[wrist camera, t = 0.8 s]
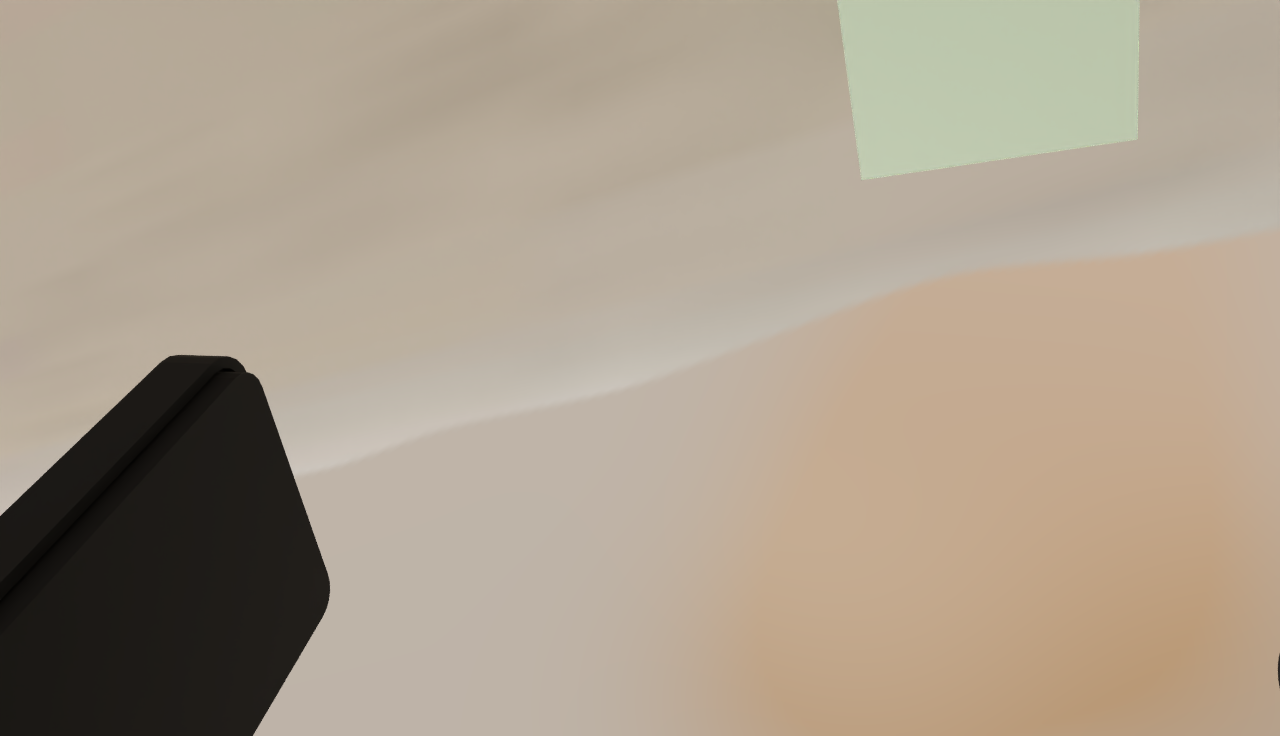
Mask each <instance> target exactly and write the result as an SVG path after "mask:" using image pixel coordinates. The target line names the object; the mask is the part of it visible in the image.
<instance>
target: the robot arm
mask: <svg viewBox="0 0 1280 736" xmlns="http://www.w3.org/2000/svg"><path fill="white" fill-rule="evenodd" d="M329 594H330V581H329V577H328V573H327V570H326V567H325V565H324V562H323V559H322V556H321V553H320V550H319V548H318V545H317V542H316V539H315V536H314V533H313V531H312V527H311V525H310V522H309V519H308V516H307V513H306V510H305V508H304V505H303V502H302V499H301V496H300V493H299V491H298V488H297V485H296V482H295V479H294V476H293V473H292V470H291V468H290V465H289V462H288V459H287V456H286V453H285V450H284V448H283V445H282V442H281V439H280V436H279V433H278V430H277V428H276V425H275V422H274V419H273V416H272V413H271V410H270V408H269V405H268V402H267V399H266V396H265V393H264V391H263V388H262V385H261V383H260V381H259V379H258V378H257V377H256V376H255V375H254V374H251V373H248V372H246V370H245V368H244V366H243V365H242V364H241V363H240V362H239V361H238V360H237V359H234V358H231V357H228V356H196V355H175V356H169V357H168V358H166V359H165V360H163V361H162V362H161V363H159V364H158V365H157V366H156V367H155V368H154V369H153V370H152V371H151V372H150V373H149V374H148V375H147V376H146V377H145V378H144V379H143V380H142V381H141V382H140V383H139V384H138V385H137V386H135V387H134V388H133V389H132V390H131V391H130V392H129V393H128V394H127V395H126V396H125V397H124V398H123V399H122V400H121V401H120V402H119V403H118V404H117V405H116V406H115V407H114V408H113V409H112V410H110V411H109V412H108V413H107V414H106V415H105V416H104V417H103V418H102V419H101V420H100V421H99V422H98V423H97V424H96V425H95V426H94V427H93V428H92V429H91V430H90V431H89V432H88V433H86V434H85V435H84V436H83V437H82V438H81V439H80V440H79V441H78V442H77V443H76V444H75V445H74V446H73V447H72V448H71V449H70V450H69V451H68V452H67V453H66V454H65V455H64V456H62V457H61V458H60V459H59V460H58V461H57V462H56V463H55V464H54V465H53V466H52V467H51V468H50V469H49V470H48V471H47V472H46V473H45V474H44V475H43V476H42V477H41V478H40V479H38V480H37V481H36V482H35V483H34V484H33V485H32V486H31V487H30V488H29V489H28V490H27V491H26V492H25V493H24V494H23V495H22V496H21V497H20V498H19V499H18V500H17V501H16V502H14V503H13V504H12V505H11V506H10V507H9V508H8V509H7V510H6V511H5V512H4V513H3V514H2V515H1V516H0V736H253V734H254V733H255V731H256V729H257V728H258V726H259V724H260V723H261V721H262V719H263V717H264V716H265V714H266V712H267V711H268V709H269V707H270V705H271V704H272V702H273V700H274V699H275V697H276V695H277V694H278V692H279V690H280V688H281V687H282V685H283V683H284V682H285V680H286V678H287V676H288V675H289V673H290V672H291V670H292V668H293V666H294V665H295V663H296V661H297V660H298V658H299V656H300V655H301V653H302V651H303V649H304V648H305V646H306V644H307V643H308V641H309V639H310V637H311V636H312V634H313V632H314V631H315V629H316V627H317V626H318V624H319V622H320V620H321V619H322V617H323V615H324V613H325V611H326V608H327V605H328V601H329ZM1278 680H1279V686H1280V655H1279V661H1278Z"/></svg>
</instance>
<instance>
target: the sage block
mask: <svg viewBox="0 0 1280 736" xmlns="http://www.w3.org/2000/svg"><path fill="white" fill-rule="evenodd" d="M837 3H838V10H839V17H840V25H841V32H842V40H843V47H844V55H845V62H846V69H847V77H848V84H849V92H850V99H851V107H852V114H853V121H854V129H855V136H856V144H857V151H858V159H859V166H860V173H861V180H867V179H873V178H880V177H887V176H894V175H900V174H907V173H914V172H921V171H927V170H934V169H941V168H948V167H954V166H961V165H968V164H975V163H982V162H988V161H995V160H1002V159H1009V158H1015V157H1022V156H1029V155H1036V154H1042V153H1049V152H1056V151H1063V150H1070V149H1076V148H1083V147H1090V146H1097V145H1103V144H1110V143H1117V142H1124V141H1130V140H1137V139H1138V72H1139V0H837Z"/></svg>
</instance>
